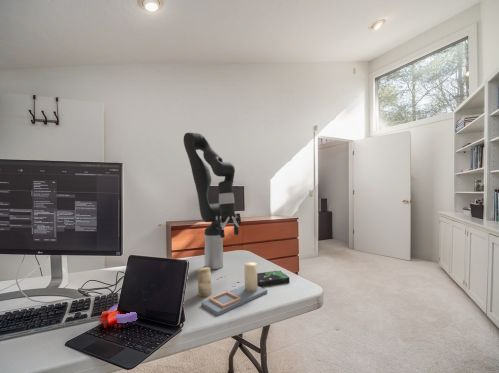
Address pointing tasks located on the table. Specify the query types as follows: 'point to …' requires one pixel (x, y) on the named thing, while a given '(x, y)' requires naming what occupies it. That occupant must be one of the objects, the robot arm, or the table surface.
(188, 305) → the table surface
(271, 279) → the disk drive
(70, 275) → the table surface
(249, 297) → the base plate
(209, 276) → the maple column
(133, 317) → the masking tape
